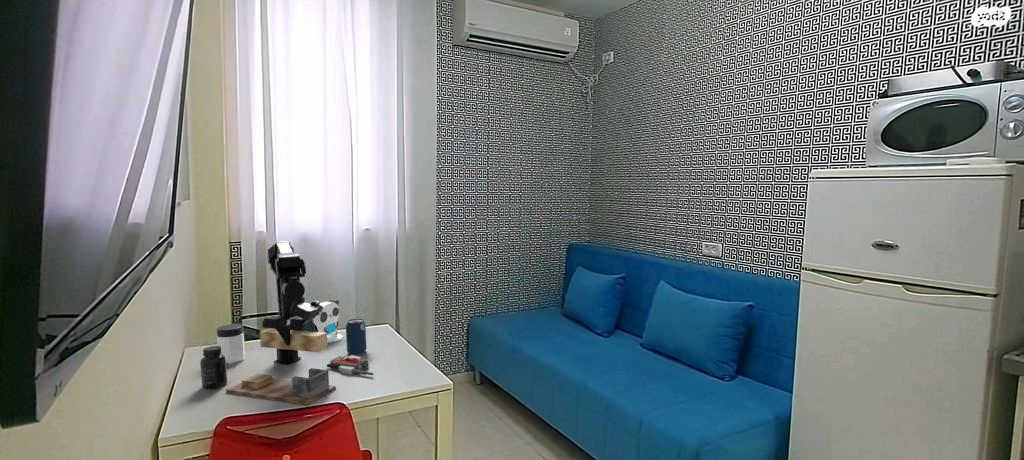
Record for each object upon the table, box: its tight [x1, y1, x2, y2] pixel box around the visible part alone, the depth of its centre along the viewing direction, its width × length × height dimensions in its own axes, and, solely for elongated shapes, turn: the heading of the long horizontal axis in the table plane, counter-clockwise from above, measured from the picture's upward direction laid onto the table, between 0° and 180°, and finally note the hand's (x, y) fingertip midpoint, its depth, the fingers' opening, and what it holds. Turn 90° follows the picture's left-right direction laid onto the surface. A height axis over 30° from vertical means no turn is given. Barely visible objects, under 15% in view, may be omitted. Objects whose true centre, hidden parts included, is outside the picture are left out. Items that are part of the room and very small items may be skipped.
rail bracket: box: [225, 367, 337, 406], centre depth 154 cm, size 30×12×6 cm, turn 71°
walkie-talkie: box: [326, 354, 374, 376], centre depth 171 cm, size 9×4×20 cm
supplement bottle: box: [199, 345, 228, 390], centre depth 158 cm, size 7×7×12 cm
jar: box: [216, 323, 246, 365], centre depth 182 cm, size 9×8×12 cm
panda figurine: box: [312, 299, 343, 344], centre depth 206 cm, size 12×11×15 cm
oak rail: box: [259, 328, 328, 353], centre depth 162 cm, size 22×4×5 cm, turn 73°
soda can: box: [345, 318, 367, 356], centre depth 188 cm, size 7×7×12 cm
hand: (293, 343), depth 162 cm, fingers closed on oak rail, 4 cm apart
